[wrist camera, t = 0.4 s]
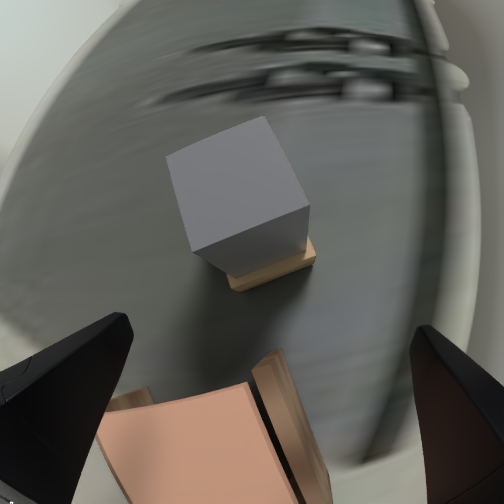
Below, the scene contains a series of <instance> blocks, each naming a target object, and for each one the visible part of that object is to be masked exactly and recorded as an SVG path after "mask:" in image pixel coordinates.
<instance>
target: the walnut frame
mask: <svg viewBox="0 0 504 504" xmlns="http://www.w3.org/2000/svg"><path fill="white" fill-rule="evenodd" d="M251 371H252V374H253V376H254V379H255V382H256V384H257V387H258V389H259V392H260V394H261V397H262V400H263V402H264V405H265V407H266V410H267V412H268V415H269V417H270V420H271V422H272V425H273V427H274V429H275V432H276V434H277V437H278V439H279V442H280V444H281V446H282V449H283V451H284V453H285V456H286V458H287V460H288V463H289V465H290V467H291V470H292V472H293V474H294V477H290V478H287V479H288V481H289V483H290V485H291V488H292V490H293V492H294V494H295V496H296V498H297V500H298V503H299V504H333V498H332V492H331V485H330V478H329V474H328V471H327V469H326V466H325V464H324V461H323V458H322V456H321V453H320V451H319V448H318V445H317V443H316V440H315V438H314V435H313V432H312V430H311V427H310V425H309V422H308V419H307V417H306V414H305V412H304V409H303V406H302V404H301V401H300V398H299V396H298V393H297V390H296V388H295V385H294V383H293V380H292V377H291V375H290V372H289V369H288V367H287V364H286V361H285V359H284V356H283V353H282V351H281V348H279V349H276V350H273V351H271V352H268V353H267V354H266V355H265V356H264V357H263V358H262V359H261V360H260V361H259V362H258V364H257V365H256V366H255V367H254V368H253V369H252V370H251ZM150 405H154V403H153V400H152V397H151V395H150V392H149V389H148V387H145V388H141V389H137V390H135V391H132V392H129V393H126V394H123V395H121V396H118V397H115V398H112V399H110V402H109V404H108V406H107V409H106V411H105V412H113V411H120V410H127V409H133V408H139V407H145V406H150ZM95 438H96V441H97V443H98V445H99V447H100V449H101V452H102V454H103V456H104V458H105V460H106V462H107V464H108V466H109V468H110V470H111V472H112V474H113V476H114V478H115V479H116V481H117V483H118V485H119V487H120V488H121V490H122V492H123V494H124V495H125V497H126V499H127V500H128V502H129V504H133V503H132V501H131V499H130V498H129V496H128V494H127V492H126V491H125V489H124V487H123V485H122V484H121V482H120V480H119V478H118V476H117V474H116V473H115V471H114V469H113V467H112V465H111V463H110V461H109V459H108V457H107V454H106V452H105V450H104V448H103V446H102V444H101V441H100V439H99V437H98V434H97V433H96V435H95Z"/></svg>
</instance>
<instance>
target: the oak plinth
mask: <svg viewBox="0 0 504 504" xmlns="http://www.w3.org/2000/svg"><path fill="white" fill-rule="evenodd" d="M315 258H316V253H315V251H314V249H313V246H312V244H311V242H310V239H309V237H308V236H307V248H306V251H305V252H303V253H300V254H298V255H295V256H293V257H290V258H288V259H285V260H283V261H280V262H277V263H275V264H272V265H270V266H267V267H265V268H262V269H260V270H257V271H255V272H252V273H250V274H247V275H244V276H242V277H239V278H237V279H235V278H233V277H232V276H230V275H228V274H227V273H226V276H227V278H228V281H229V284H230V287H231V289H233V290H235V291H238V292H243V291H246V290H248V289H251V288H253V287H256V286H259V285H261V284H264V283H266V282H269V281H272V280H274V279H277V278H279V277H282V276H284V275H287V274H289V273H292V272H294V271H297V270H299V269H302V268H304V267H307V266H309V265H312V264H314V262H315Z"/></svg>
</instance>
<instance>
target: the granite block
mask: <svg viewBox="0 0 504 504" xmlns="http://www.w3.org/2000/svg"><path fill="white" fill-rule="evenodd" d="M166 159H167V163H168V167H169V171H170V175H171V179H172V183H173V186H174V190H175V194H176V198H177V201H178V205H179V208H180V212H181V215H182V219H183V222H184V226H185V229H186V233H187V236H188V240H189V243H190V246H191V250H192V252H193V253H194V254H196V255H198V256H199V257H201V258H202V259H204V260H206V261H207V262H209V263H210V264H212V265H214V266H215V267H217V268H219V269H220V270H222V271H223V272H225V273H227V274H228V275H230V276H232V277H233V278H235V279H237V278H239V277H242V276H244V275H247V274H250V273H252V272H255V271H257V270H260V269H262V268H265V267H267V266H270V265H272V264H275V263H277V262H280V261H283V260H285V259H288V258H290V257H293V256H295V255H298V254H300V253H303V252H305V251H306V248H307V236H308V223H309V209H310V204H309V202H308V200H307V198H306V196H305V194H304V192H303V190H302V187H301V185H300V183H299V181H298V179H297V177H296V175H295V173H294V171H293V169H292V167H291V165H290V163H289V161H288V160H287V158H286V156H285V154H284V152H283V150H282V148H281V146H280V144H279V142H278V140H277V139H276V137H275V135H274V133H273V131H272V129H271V127H270V126H269V124H268V122H267V120H266V118H265V117H264V116H261V117H258V118H256V119H253V120H250V121H248V122H245V123H242V124H240V125H237V126H235V127H232V128H230V129H227V130H225V131H222V132H220V133H217V134H215V135H213V136H210V137H208V138H206V139H203V140H201V141H199V142H196V143H194V144H192V145H190V146H188V147H185V148H183V149H181V150H179V151H177V152H175V153H173V154H171V155H169V156H166Z"/></svg>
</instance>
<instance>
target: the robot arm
mask: <svg viewBox="0 0 504 504" xmlns="http://www.w3.org/2000/svg"><path fill="white" fill-rule="evenodd" d="M133 338H134V333H133V330H132V327H131V324H130V322H129V319H128V316H127V315H126V314H125V313H120V312H114V313H112V314H110V315H108V316H106V317H104V318H102V319H100V320H98V321H96V322H95V323H93V324H91V325H89V326H87V327H85V328H83V329H81V330H79V331H77V332H76V333H74V334H72V335H70V336H68V337H66V338H64V339H62V340H61V341H59V342H57V343H55V344H53V345H51V346H49V347H47V348H46V349H44V350H42V351H40V352H38V353H36V354H34V355H33V356H31V357H29V358H27V359H25V360H23V361H21V362H19V363H17V364H15V365H13V366H11V367H9V368H7V369H5V370H3V371H1V372H0V504H71V503H72V499H73V496H74V493H75V490H76V487H77V484H78V482H79V479H80V476H81V472H82V470H83V467H84V464H85V462H86V459H87V456H88V454H89V451H90V448H91V446H92V443H93V441H94V438H95V435H96V433H97V430H98V428H99V425H100V423H101V421H102V418H103V416H104V413H105V411H106V409H107V406H108V404H109V402H110V399H111V397H112V395H113V392H114V390H115V388H116V386H117V383H118V381H119V379H120V376H121V374H122V371H123V368H124V365H125V362H126V359H127V356H128V353H129V350H130V347H131V344H132V342H133ZM409 355H410V363H411V371H412V381H413V391H414V399H415V404H416V410H417V415H418V421H419V427H420V433H421V440H422V447H423V455H424V464H425V474H426V487H427V504H504V387H503V386H502V385H501V384H500V383H499V382H498V381H497V380H496V379H495V378H493V377H492V376H491V375H490V374H489V373H488V372H486V371H485V370H484V369H483V368H482V367H481V366H480V365H478V364H477V363H476V362H475V361H474V360H473V359H471V358H470V357H469V356H468V355H467V354H465V353H464V352H463V351H462V350H461V349H459V348H458V347H457V346H456V345H455V344H453V343H452V342H451V341H450V340H449V339H447V338H446V337H445V336H444V335H442V334H441V333H440V332H439V331H437V330H436V329H435V328H434V327H432V326H431V325H419V326H418V327H417V328H416V330H415V333H414V336H413V339H412V341H411V344H410V348H409Z"/></svg>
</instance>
